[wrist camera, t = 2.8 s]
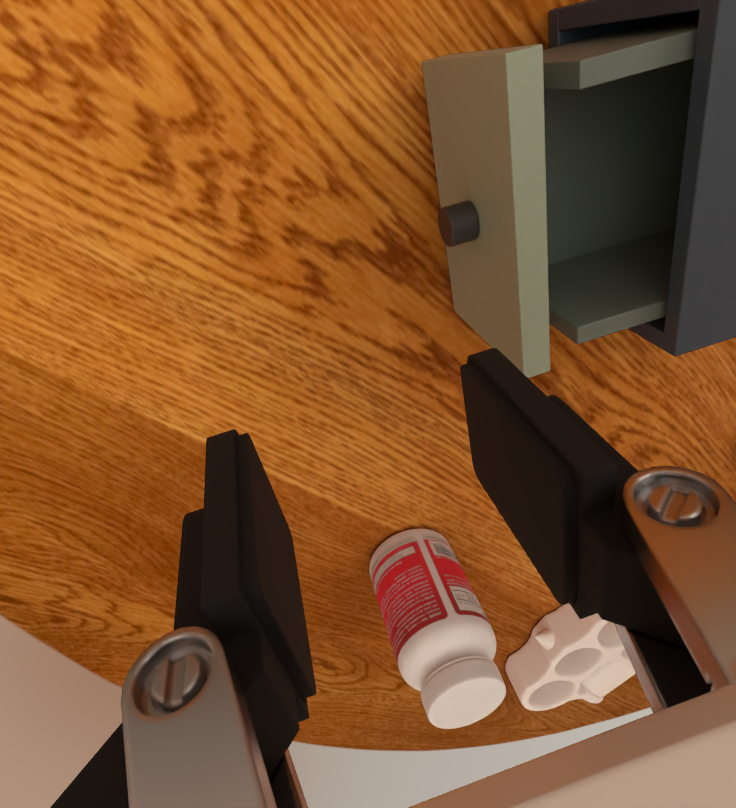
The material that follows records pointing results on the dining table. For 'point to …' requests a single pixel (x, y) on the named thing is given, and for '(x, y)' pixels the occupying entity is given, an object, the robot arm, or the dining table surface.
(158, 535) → the dining table surface
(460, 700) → the pill bottle
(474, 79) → the drawer
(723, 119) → the cabinet
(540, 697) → the white brass knuckles
